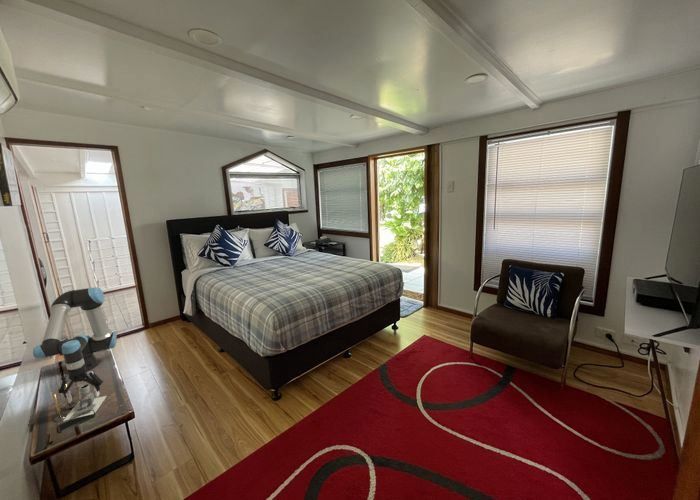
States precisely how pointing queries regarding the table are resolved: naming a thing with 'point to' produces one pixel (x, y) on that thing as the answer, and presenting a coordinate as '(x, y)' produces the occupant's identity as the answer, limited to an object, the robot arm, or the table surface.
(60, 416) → the wire frame
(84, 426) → the table surface
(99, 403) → the mat
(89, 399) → the camera
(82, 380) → the robot arm
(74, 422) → the phone
